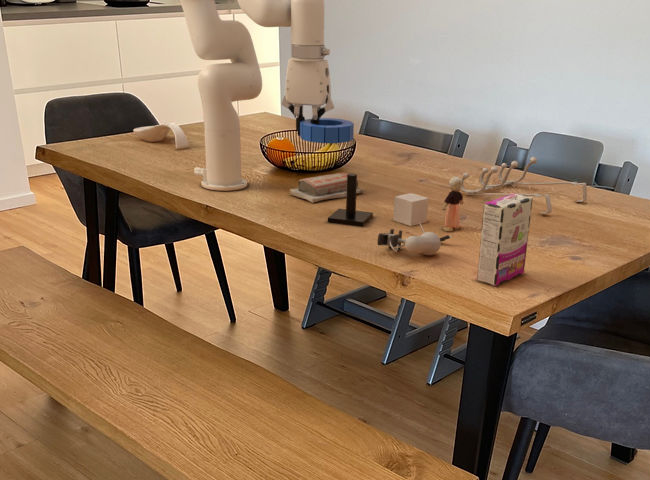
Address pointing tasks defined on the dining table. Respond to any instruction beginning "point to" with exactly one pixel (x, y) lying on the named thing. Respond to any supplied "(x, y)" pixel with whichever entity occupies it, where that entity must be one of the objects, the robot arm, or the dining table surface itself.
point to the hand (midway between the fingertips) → (307, 134)
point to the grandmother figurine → (453, 205)
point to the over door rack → (504, 182)
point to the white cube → (410, 209)
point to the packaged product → (323, 187)
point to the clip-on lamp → (413, 242)
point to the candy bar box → (504, 238)
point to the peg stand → (350, 207)
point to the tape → (327, 130)
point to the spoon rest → (162, 134)
